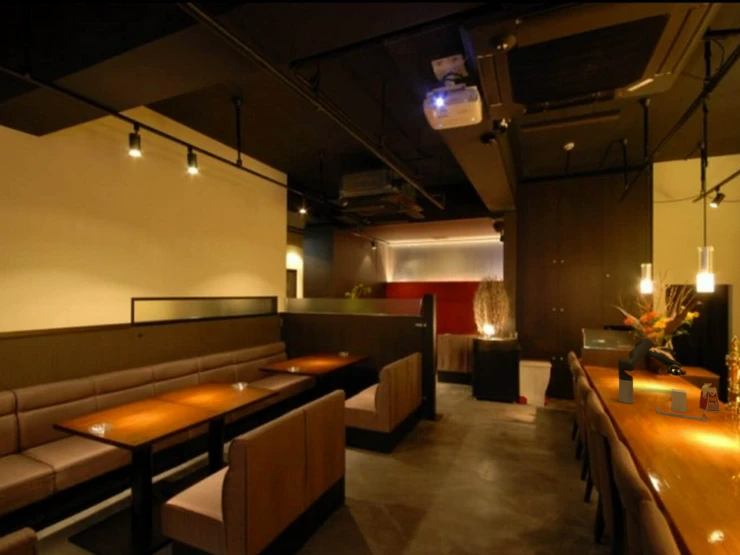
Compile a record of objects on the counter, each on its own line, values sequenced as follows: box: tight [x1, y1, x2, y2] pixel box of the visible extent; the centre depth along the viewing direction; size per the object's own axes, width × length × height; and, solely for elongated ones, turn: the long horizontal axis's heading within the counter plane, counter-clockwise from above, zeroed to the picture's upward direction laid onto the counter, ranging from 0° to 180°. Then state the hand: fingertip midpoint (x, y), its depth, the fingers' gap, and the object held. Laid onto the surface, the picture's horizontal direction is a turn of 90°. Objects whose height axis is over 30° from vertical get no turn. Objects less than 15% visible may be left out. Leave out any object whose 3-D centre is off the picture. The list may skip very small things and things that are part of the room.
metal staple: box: [655, 406, 708, 422], centre depth 270 cm, size 27×14×2 cm, turn 55°
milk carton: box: [698, 382, 722, 414], centre depth 281 cm, size 9×9×20 cm
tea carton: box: [671, 388, 688, 413], centre depth 281 cm, size 8×8×14 cm
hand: (676, 374), depth 299 cm, fingers open, 2 cm apart
